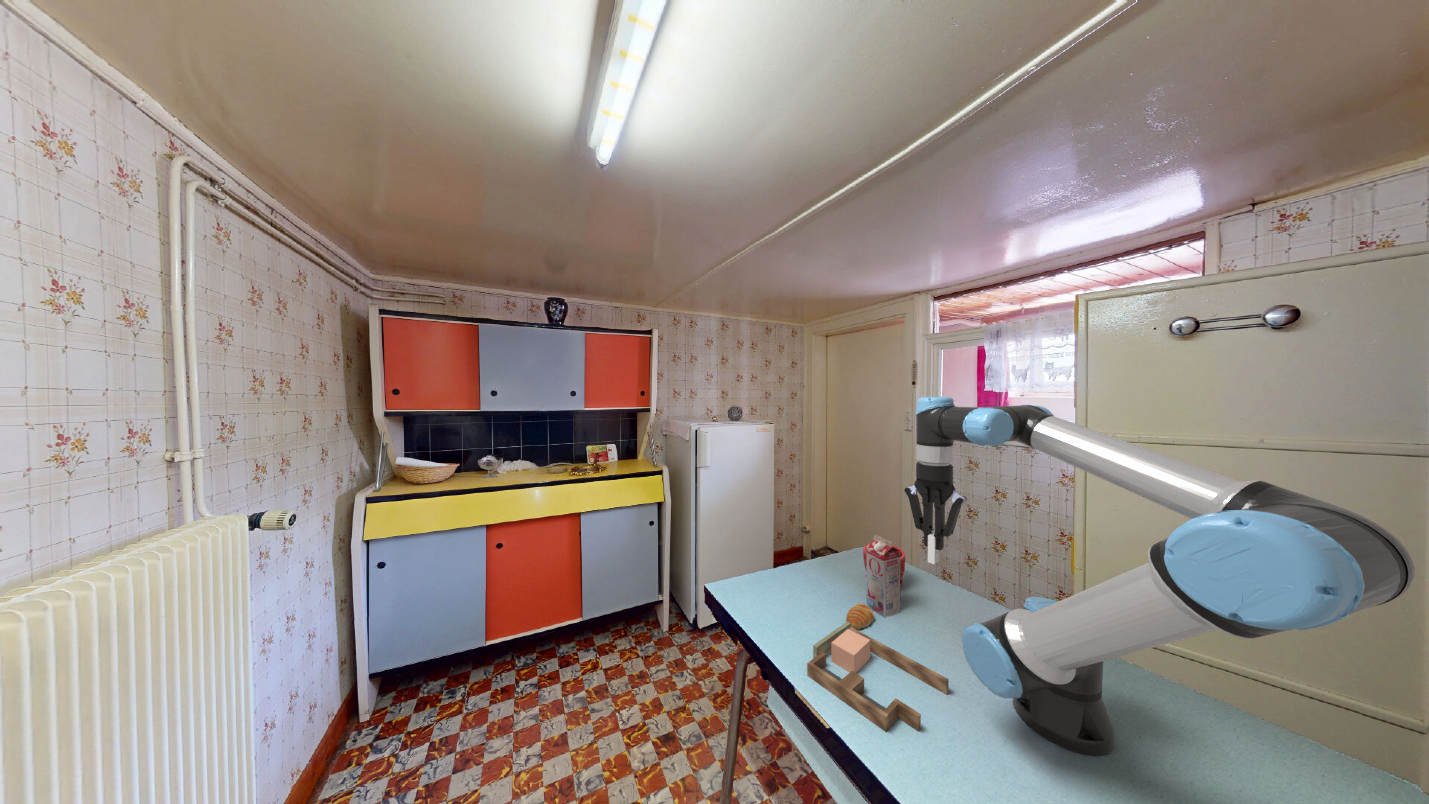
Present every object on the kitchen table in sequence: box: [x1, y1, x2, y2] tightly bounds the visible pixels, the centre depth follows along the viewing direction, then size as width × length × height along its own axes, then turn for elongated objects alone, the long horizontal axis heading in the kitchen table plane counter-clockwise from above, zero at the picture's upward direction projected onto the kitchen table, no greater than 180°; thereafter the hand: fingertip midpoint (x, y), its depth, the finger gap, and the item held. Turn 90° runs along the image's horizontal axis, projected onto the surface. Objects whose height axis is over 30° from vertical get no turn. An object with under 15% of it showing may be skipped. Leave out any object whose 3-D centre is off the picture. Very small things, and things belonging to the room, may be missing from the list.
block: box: [830, 629, 871, 674], centre depth 94 cm, size 6×8×5 cm
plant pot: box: [862, 543, 906, 589], centre depth 130 cm, size 13×13×12 cm
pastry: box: [845, 603, 876, 631], centre depth 109 cm, size 9×7×4 cm
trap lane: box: [806, 621, 950, 733], centre depth 87 cm, size 25×20×4 cm
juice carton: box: [866, 533, 901, 618], centre depth 115 cm, size 7×7×22 cm
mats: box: [821, 666, 887, 711], centre depth 84 cm, size 17×4×1 cm, turn 39°
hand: (933, 561), depth 90 cm, fingers closed
